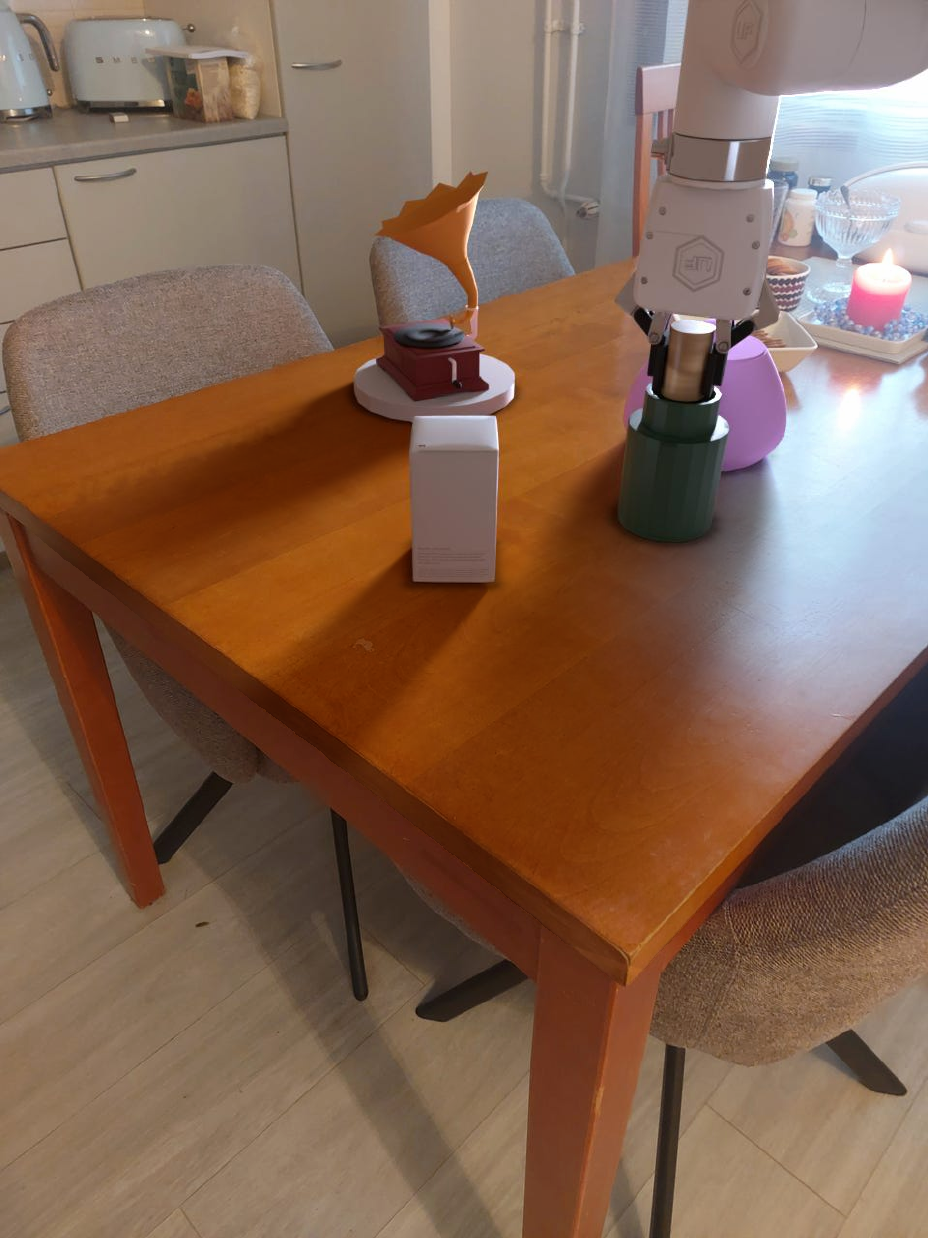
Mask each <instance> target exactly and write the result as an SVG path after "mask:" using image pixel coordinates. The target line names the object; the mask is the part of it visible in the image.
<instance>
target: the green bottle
mask: <svg viewBox="0 0 928 1238" xmlns="http://www.w3.org/2000/svg"><path fill="white" fill-rule="evenodd" d="M661 388H662V387H661ZM721 396H722V394H721V392H720V391H719V389H718V388H716V387H714V390H713V392H712V394H711V396H710V398H707V397H703V398H702V399H700V400H697V401H691V402H683V401H676V400H672V399H669V398H666V397H665V396H663V395H662V393H661V389H658V390H652V383H650V384H648V386H647V387H646V389H645V396H644V403H643V408H640V409H638V410H636V411H634V412H633V413H632V414H631V415H630V417H629V419H628V426H627V431H626V435H625V443H624V444H625V445H624V452H623V461H622V462H623V463H622V469H621V476H620V477H621V478H620V485H619V486H620V487H619V495H618V503H617V519H618V523H620V524H621V526H622V527H623V528H624V529H626V530H627V531H628V532H630V533H631V534H633V535H635V536H639V537H640V538H643V539H646V540H650V541H655V542H661V543H684V542H691V541H693V540H696V539H699V538H701V537H704V535H705V534H707V533H708V532H709V531H710V529H711V526H712V521H713V519H714V514H715V508H716V504H717V497H718V492H719V487H720V481H721V477H722V472H723V471H722V466H723V461H724V456H725V450H726V445H727V440H728V434H729V429H730V428H729V425H728V423H727V421H726V420H725V419H723V418H722V417H721V416H719V415H718V413H719V408H720V402H721Z"/></svg>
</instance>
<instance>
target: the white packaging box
mask: <svg viewBox="0 0 928 1238" xmlns="http://www.w3.org/2000/svg"><path fill="white" fill-rule="evenodd" d="M410 432H411V433H410V442H409V449H408V461H409V463H408V464H409V468H408V469H409V493H410V499H409V500H410V527H411V563H412V581H413V583H414V582H415V583H417V582H418V583H482V584H483V583H485V584H486V583H494V582H495V576H496V574H495V573H496V550H497V549H496V547H497V546H496V545H497V519H498V518H497V515H498V514H497V513H498V509H497V508H498V489H499V487H498V486H499V451H500V450H499V434H498V422H497V417H496V415H486V416H414V417H413V422H412V425H411V431H410Z"/></svg>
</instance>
